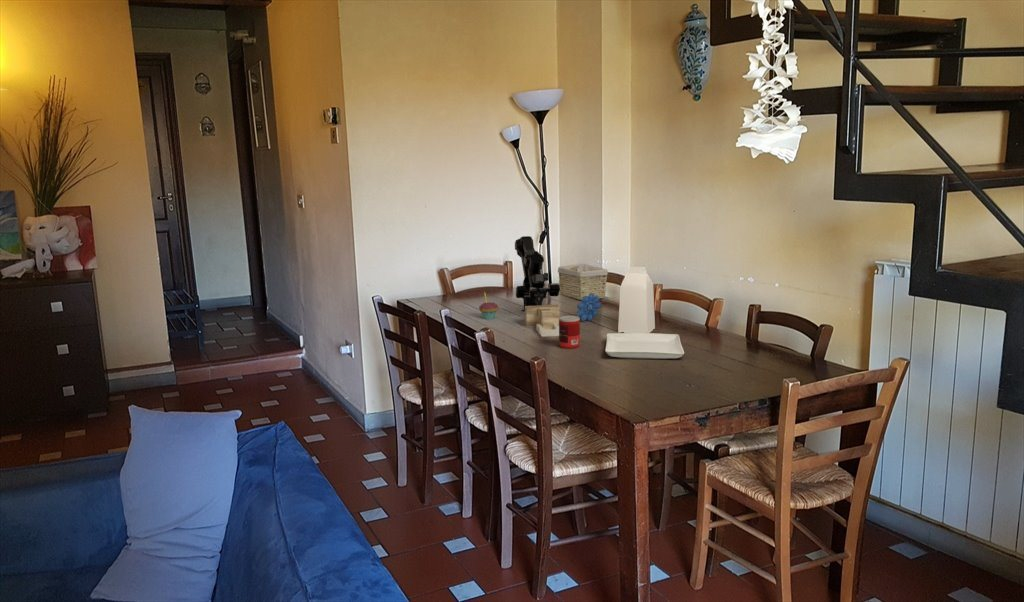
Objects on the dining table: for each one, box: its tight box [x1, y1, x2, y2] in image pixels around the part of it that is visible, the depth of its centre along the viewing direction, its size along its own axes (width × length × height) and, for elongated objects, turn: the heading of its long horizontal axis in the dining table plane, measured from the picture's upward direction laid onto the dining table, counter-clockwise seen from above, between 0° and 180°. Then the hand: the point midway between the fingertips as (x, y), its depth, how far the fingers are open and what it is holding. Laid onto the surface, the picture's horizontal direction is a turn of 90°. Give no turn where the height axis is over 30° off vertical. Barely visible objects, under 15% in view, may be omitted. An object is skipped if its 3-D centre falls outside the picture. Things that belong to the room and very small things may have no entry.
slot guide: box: [535, 323, 559, 337], centre depth 306 cm, size 12×8×2 cm
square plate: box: [605, 332, 685, 360], centre depth 276 cm, size 27×27×4 cm
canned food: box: [558, 315, 581, 350], centre depth 283 cm, size 8×8×11 cm
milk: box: [617, 265, 656, 333], centre depth 305 cm, size 12×12×26 cm
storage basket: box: [557, 263, 609, 301], centre depth 379 cm, size 24×16×15 cm
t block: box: [524, 304, 561, 330], centre depth 315 cm, size 14×14×8 cm
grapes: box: [576, 293, 602, 322], centre depth 325 cm, size 12×7×12 cm, turn 114°
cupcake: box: [479, 291, 499, 320], centre depth 335 cm, size 9×8×12 cm
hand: (540, 307), depth 323 cm, fingers closed
